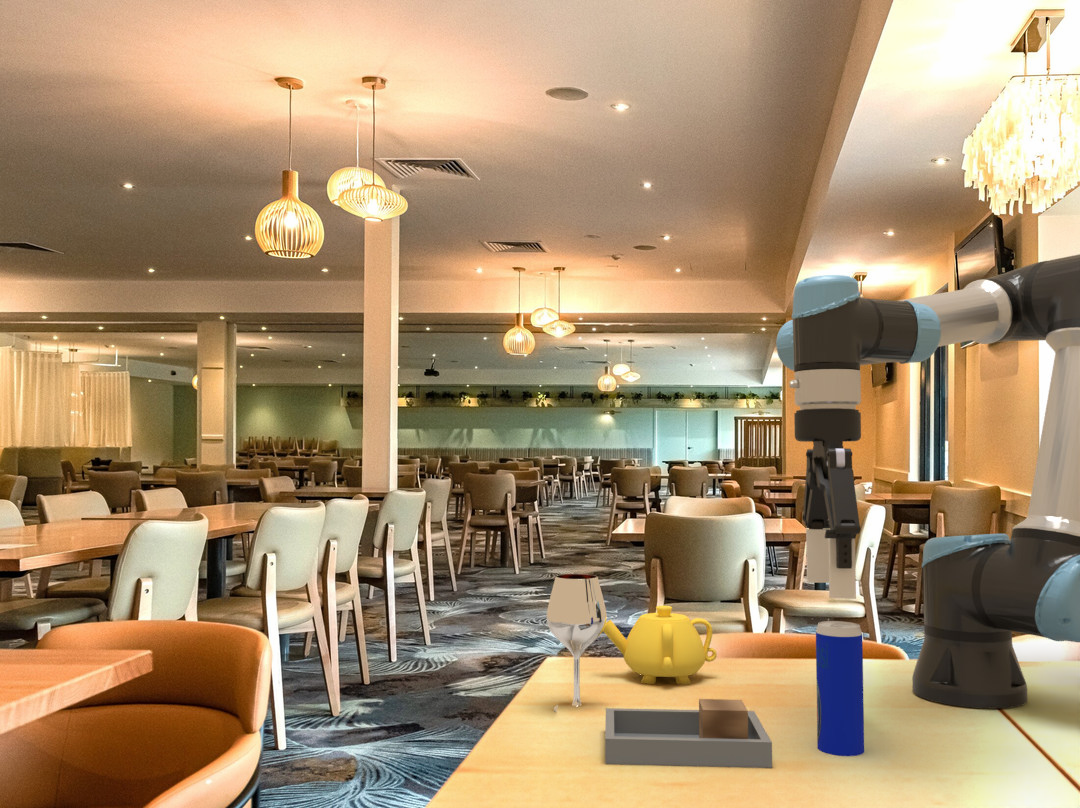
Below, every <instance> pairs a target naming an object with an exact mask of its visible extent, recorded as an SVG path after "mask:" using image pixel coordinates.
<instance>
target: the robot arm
mask: <svg viewBox="0 0 1080 808" xmlns="http://www.w3.org/2000/svg"><path fill="white" fill-rule="evenodd" d="M858 282H859V281H858V280H857V279H855V277H851V276H850V275H843V274H842V275H840V274H838V275H837V274H827V275H825V274H824V275H817V276H810V277H807V278H804V279H800V280H799V281H798V282H797V283H796V284H795V286H794V289H793V300H792V313H791V319H790V320H788V321H787V322H785V323H784V324H782V326H781V327H780V329H779V330H778V333H777V336H776V340H775V346H776V353H777V356H778V359H779V360H780V362H781V363H782V364H783V365H784V366H785V368H787V369H789V370H790V371H792V372H794V374H793V375H794V379H791V380H790V381H789V382H788V385H789V387H790V388H791V389H794V404H795V405H796V406H797V407H799V410H796V411H795V413H794V421H793V422H794V439H795V440H796V441H798V442H802V443H803V442H805V443H807V442H811V443H813V447H812V449H808V448H807V449H806V452H805V456H806V470H805V481H804V482H805V484H804V497H803V510H802V515H801V518H802V521H803V523H804V526H805V528H806V529H805V532H806V533H805V539H806V540H805V541H806V542H805V543H806V544H805V545H806V546H805V547H806V550H805V551H806V582H807V583H810V584H811V583H817V584H818V583H819V584H820V583H821V584H824V583H825V584H826V583H827V584H828V585H829V586H828V593H829V594H828V595H829V598H830V599H841V600H842V599H845V600H847V599H848V600H851V599H852V600H853V599H854V600H855V599H857V585H856V584H857V583H856V582H857V581H856V580H857V579H856V577H857V576H856V572H857V571H856V570H857V569H856V537H857V535H860V534H861V524H860V518H859V511H858V510H859V509H858V503H857V495H856V485H855V479H854V472H853V451H852V449H851V448H844V445H843V444H844V443H845V442H859V441H860V440H861V438H862V422H861V421H862V416H861V415H862V414H861V412H860V409H856V406H858V405H860V404H861V403H862V394H861V393H862V387H861V383H862V382H861V381H862V380H861V366H867V365H875V364H883V363H885V364H886V363H899V364H902V365H903V364H909V363H916V364H917V363H922V362H924V361H926V360H928V359H929V358H930V357H932V355H934V354H935V352H936V350H937V349H938V348H939V347H944V346H949V345H955V344H959V343H964V342H969V341H973V342H974V343H977V344H981V345H988V344H995V343H1000V342H1021V341H1022V342H1024V341H1028V342H1029V341H1034V342H1035V341H1036V342H1037V341H1045V342H1046V344H1047V345H1048V346H1049V347H1050V348H1051V350H1053V351H1054V353H1055V354H1054V361H1053V364H1052V365H1053V366H1052V371H1051V375H1050V376H1051V377H1050V382H1049V387H1048V388H1049V390H1048V395H1047V401H1046V407H1045V413H1044V417H1043V422H1042V423H1043V424H1042V429H1041V430H1042V431H1041V435H1040V436H1041V437H1040V441H1039V446H1038V453H1037V457H1036V464H1035V465H1036V466H1035V471H1034V476H1033V477H1034V478H1033V482H1032V483H1033V484H1032V487H1031V494H1030V500H1029V505H1028V511H1027V516H1026V518H1025V519H1024V520H1022V521H1021V522H1019V523H1018V524H1016V525H1014V526H1013V527H1012V531H1011V536H1009V535H1008V534H1007V533H983V534H982V533H981V534H970V535H969V534H968V535H952V536H939V537H931V538H930V539H929V538H928V540H926V542H925V543H924V546H923V550H922V551H923V552H922V553H923V554H922V555H923V556H922V563H921V574H922V576H921V578H922V601H923V623H924V624H923V625H924V626H923V627H924V628H923V629H924V630H923V631H924V633H923V634H924V637H923V638H924V639H923V642H922V645H921V648H920V652H919V654H918V657H917V658H918V659H917V660H916V664H915V667H914V669H913V673H912V680H911V681H912V693H913V694H915V695H916V696H918V697H919V698H922V699H925V700H928V701H932V702H936V703H940V704H945V705H951V706H957V707H965V708H973V709H974V708H978V709H1008V708H1017V707H1020V706H1023V705H1025V704H1026V703H1028V686H1027V681H1026V679H1025V677H1024V674H1023V671H1022V668H1021V666H1020V663H1019V660H1018V657H1017V654H1016V652H1015V649H1014V645H1013V632H1015V633H1021V634H1027V635H1031V636H1036V637H1042V638H1046V639H1048V640H1052V641H1055V642H1072V643H1080V254H1079V253H1078V254H1074V255H1071V256H1070V255H1069V256H1065V257H1060V258H1054V259H1050V260H1043V261H1039V262H1034V263H1031V264H1028V265H1025V266H1022V267H1019V268H1016V269H1013V270H1012V269H1011V270H1010V271H1007V272H1004V273H1000V274H998V275H994V276H991V277H987V278H983V279H977V280H974V281H972V282H970V283H968V284H966V285H965V287H963V289H957V290H953V291H947V292H941V293H940V292H939V293H934V294H929V295H924V296H923V295H922V296H917V297H911V298H905V299H900V300H889V299H876V298H865V297H861V292H860V291H859V283H858ZM1010 537H1011V538H1010Z"/></svg>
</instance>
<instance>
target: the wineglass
mask: <svg viewBox="0 0 1080 808" xmlns="http://www.w3.org/2000/svg"><path fill="white" fill-rule="evenodd" d="M549 597H550V598H549V601H548V605H547V611H546V623H547V626H548V629H549V630H550V632H551V633H552V635H553V636H554V637H555V638H556V639H557V641H559V642H560V643H561V644H562V645H563V646H564V647H565V648H567V650H568V651H569V652H570V653H571V655H572V657H573V700H572V703H571V706H573V707H580V706H582V705H583V704H582V701H581V695H580V693H581V688H580V677H581V676H580V674H581V673H580V671H581V670H580V665H581V663H580V662H581V661H580V658H581V655H582V654H583V653H584V652H585V650H586V649H587V648H588V647H589V646H590V645H591V644H593V643H594V642H595V641H596V640H597V639H598V638H599V637H600V636H601V634H602V633H603V632H604V631H603V630H604V628H605V625H606V622H608V621H607V618H608V617H607V608H606V605H605V600H604V596H603V593H602V589H601V585H600V581H599V577H598V576H597V575H595V574H587V573H586V574H585V573H570V574H569V573H567V574H559V575H555V578H554V581H553V585H552V590H551V592H550V596H549ZM558 707H559V704H556V705H555V706H553V711H554V712H555V713H557V712H558V709H559V708H558Z"/></svg>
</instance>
